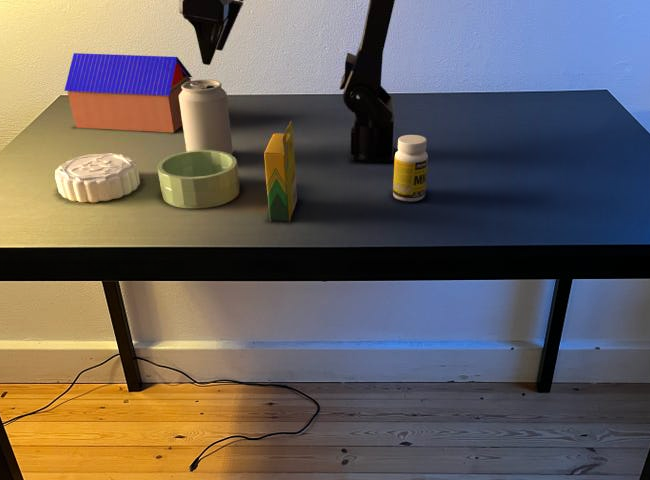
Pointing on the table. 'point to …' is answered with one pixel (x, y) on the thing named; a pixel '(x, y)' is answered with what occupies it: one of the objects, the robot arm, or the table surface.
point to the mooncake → (97, 177)
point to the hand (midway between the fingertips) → (212, 57)
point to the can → (205, 116)
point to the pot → (199, 179)
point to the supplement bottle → (410, 168)
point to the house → (126, 91)
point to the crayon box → (281, 175)
